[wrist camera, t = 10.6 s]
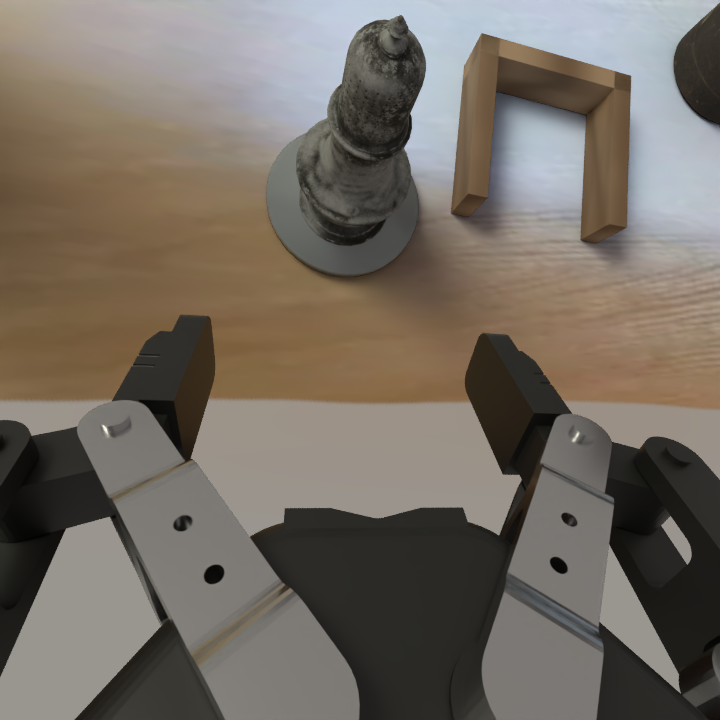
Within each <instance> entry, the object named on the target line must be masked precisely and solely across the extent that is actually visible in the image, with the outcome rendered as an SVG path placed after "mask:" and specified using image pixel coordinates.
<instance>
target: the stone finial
mask: <svg viewBox="0 0 720 720" xmlns="http://www.w3.org/2000/svg"><path fill="white" fill-rule="evenodd" d="M425 71H426V60H425V56H424V53H423V50H422V47H421V45H420V43H419V41H418V40H417V38H416V37H415V35H414V34H413V33H412V32H411V31H410V30H409V29H408V26H407V24H406V21H405V20H404V18H403V16H402V15H400V16H397V17H395V18H393V19H391V20H377V21H374V22H372V23H369V24H367V25H365V26H364V27H362V28H361V29H360V30H359V31H358V32H357V33H356V35H355V36H354V38H353V39H352V41H351V43H350V46H349V49H348V53H347V58H346V63H345V69H344V74H343V79H342V84H341V85H340V86H338V87H337V88H336V89H335V91H334V92H333V94H332V96H331V97H330V101H329V104H328V109H327V111H328V118H327V119H324V120H322V121H320V122H318V123H317V124H316V125H315V126H313V127H312V128H311V129H310V130H308V132H307V133H306V135H305V136H304V138H303V139H302V141H301V142H300V145H299V149H298V152H297V156H296V174H297V177H298V181H299V185H300V188H301V189H300V195H299V205H300V208H301V212H302V216H303V218H304V219H305V221H306V223H307V224H308V226H309V227H310V228H311V229H312V230H313V231H314V232H315V233H316V234H317V235H318V236H319V237H321V238H323V239H324V240H326V241H327V242H330V243H334V244H337V245H344V246H353V245H358V244H362V243H364V242H366V241H368V240H370V239H372V238H373V237H374V236H375V235H376V234H377V233H378V232H380V230H381V229H382V227H383V225H384V223H385V222H386V219H387V218H389V217H390V216H391V215H392V214H393V213H395V212H396V211H397V210H398V209H399V208H400V206H401V205H402V203H403V201H404V200H405V198H406V196H407V194H408V190H409V186H410V182H411V169H410V164H409V160H408V157H407V153H406V152H405V150H404V147H405V145H406V143H407V142H408V140H409V138H410V134H411V130H412V117H411V114H410V113H411V110H412V108H413V106H414V103H415V101H416V99H417V97H418V94H419V92H420V90H421V87H422V85H423V81H424V77H425Z"/></svg>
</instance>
